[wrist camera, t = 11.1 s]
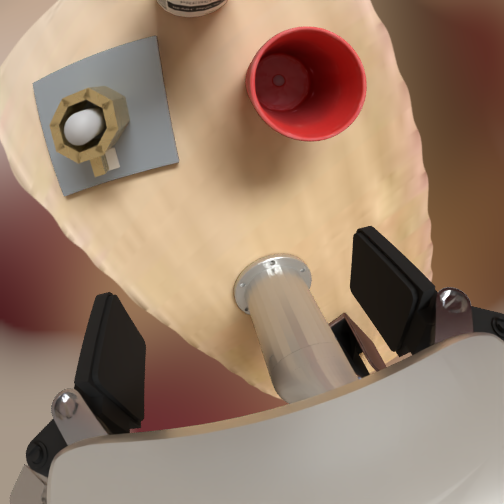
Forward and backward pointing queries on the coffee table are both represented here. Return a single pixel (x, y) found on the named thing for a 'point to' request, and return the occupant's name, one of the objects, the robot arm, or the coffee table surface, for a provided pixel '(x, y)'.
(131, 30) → the coffee table surface
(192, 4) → the supplement can
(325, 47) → the flower pot
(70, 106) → the cup
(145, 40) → the post base
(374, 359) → the letter holder
